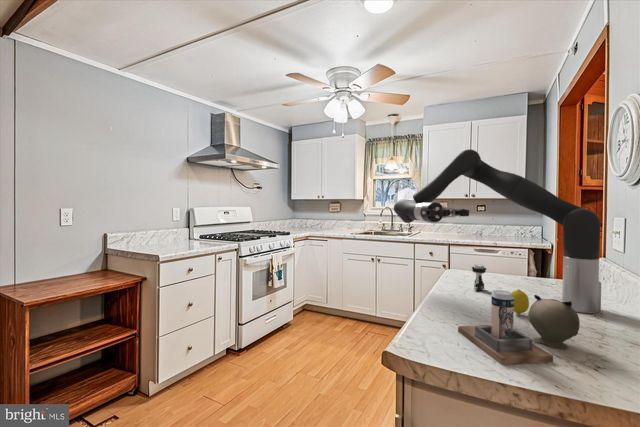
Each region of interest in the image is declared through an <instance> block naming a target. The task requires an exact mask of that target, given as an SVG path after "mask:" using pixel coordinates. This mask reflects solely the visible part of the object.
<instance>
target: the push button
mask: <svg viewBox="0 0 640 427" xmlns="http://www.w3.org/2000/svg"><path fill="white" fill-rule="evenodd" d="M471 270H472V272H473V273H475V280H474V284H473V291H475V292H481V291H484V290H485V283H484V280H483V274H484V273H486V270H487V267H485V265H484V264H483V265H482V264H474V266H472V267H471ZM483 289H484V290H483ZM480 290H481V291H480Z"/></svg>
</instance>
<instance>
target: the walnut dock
mask: <svg viewBox="0 0 640 427" xmlns="http://www.w3.org/2000/svg"><path fill="white" fill-rule="evenodd" d="M457 332H458V333H459V334H461V335H462V336H463V337H464V338H466V339H467V340H469V342H471V343H472V344H474V345H475V346H476V347H478V348H479V349H480V350H482V352H484V353H485V354H486V355H488V356H489V357H491V358H492V359H493V360H495V362H497V363H499V364H500V365H501V366H505V365H508V366H509V365H510V366H511V365H526V364H527V365H528V364H545V363H554V355H553V354H551V353H549V352H548V351H546V350H544V349H542V348H541V347H539V346H538V345H536V344H535V343H533V342H534V341H533V340H534V339H532V338H531V337H529V336H527V335H525V334H524V333H522V332H519V331H518V330H516V329H514V328H513V339H499V340H498V339H497V338H495V337H493V336H492V335H491V324H485V325H484V324H482V325H479V324H478V325H460V326H459V325H458V326H457Z"/></svg>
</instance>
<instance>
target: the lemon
mask: <svg viewBox="0 0 640 427" xmlns="http://www.w3.org/2000/svg"><path fill="white" fill-rule="evenodd" d="M511 293H512V295H513V297H514V313H516V314H517V315H518V316H519V315H521V314H524V313H526V312H527V311H528V309H529V308H530V307H529V306H530V301H529V300H530V299H529V296H528V295H527V294H526V293H525V292H524V291H522V290H521V289H519V288H518V289H516V290H513V291H512V292H511Z"/></svg>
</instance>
